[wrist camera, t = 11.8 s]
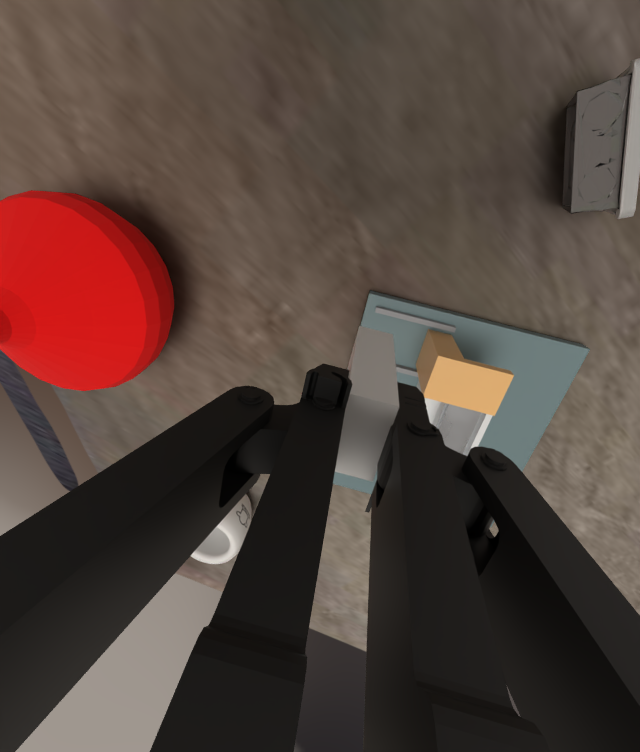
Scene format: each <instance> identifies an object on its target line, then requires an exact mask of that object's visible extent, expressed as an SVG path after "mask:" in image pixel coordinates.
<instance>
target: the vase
mask: <svg viewBox="0 0 640 752" xmlns="http://www.w3.org/2000/svg"><path fill="white" fill-rule="evenodd" d="M173 311H174V296H173V286H172V283H171V280H170V277H169V274H168V271H167V268H166V265H165V263H164V262H163V260H162V258H161V257H160V255H159V253H158V252H157V250H156V248H155V247H154V245H153V244H152V243H151V242H150V241H149V240H148V239H147V238H146V237H145V235H144V234H143V233H142V232H141V231H140V230H139V229H138V228H137V227H135V226H134V225H132V224H131V223H129V222H128V221H126V220H125V219H124V218H122V217H121V216H119V215H118V214H116V213H115V212H113V211H112V210H110V209H109V208H107V207H106V206H105V205H103V204H102V203H99V202H96V201H94V200H91V199H89V198H86V197H83V196H81V195H78V194H73V193H61V192H48V191H32V190H31V191H28V192H24V193H20V194H16V195H12V196H8V197H7V198H5V199H3V200H1V201H0V349H1V350H2V351H3V352H4V353H5V354H6V355H7V356H8V357H9V358H11V359H12V360H13V361H14V362H15V363H16V364H17V365H18V366H19V367H21V368H22V369H24V370H26V371H27V372H29V373H31V374H32V375H34V376H36V377H37V378H39V379H40V380H43V381H46V382H48V383H51V384H53V385H56V386H59V387H61V388H66V389H74V390H81V391H86V390H94V389H102V388H109V387H116V386H118V385H120V384H122V383H124V382H126V381H129V380H131V379H133V378H134V377H136V376H137V375H138V374H140V373H141V372H142V371H143V370H145V369H146V368H147V367H148V366H149V365H150V364H151V363H152V362H153V361H154V360H155V359H156V358H157V357H158V356H159V354H160V352H161V350H162V348H163V346H164V344H165V342H166V340H167V338H168V334H169V331H170V327H171V323H172V317H173Z"/></svg>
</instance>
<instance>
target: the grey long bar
mask: <svg viewBox="0 0 640 752" xmlns="http://www.w3.org/2000/svg"><path fill="white" fill-rule="evenodd" d="M480 415H481V412H477V411H474V410H470V409H466V408H462V407H458V406H455V405H451V404H447V403H445V405H444V407H443V410H442V412H441V415H440V417H439V419H438V422H437V424H436V428H438V429H439V430H440V432H441V434H442V437H443V440H444V444H445V446H447V447H449V448H451V449H452V450H454V451H457V452H459V453H461V454H463V452H464V449H465V447H466V445H467V443H468V441H469V439H470V436H471V434H472V432H473V430H474V428H475V426H476V424H477V421H478V419H479V417H480Z"/></svg>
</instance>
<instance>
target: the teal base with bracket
mask: <svg viewBox="0 0 640 752" xmlns="http://www.w3.org/2000/svg"><path fill="white" fill-rule="evenodd" d="M360 326H362V327H366V328H370V329H374V330H377V331H381V332H385V333H389V334H393V340H394V352H395V363H396V374H397V382H400V383H404V384H407V385H411V386H415V387H417V388H418V389H419V390H420V391H421V387H420V383H419V378H418V373H417V369H416V362H417V359H418V357H419V354H420V351H421V348H422V345H423V342H424V340H425V337H426V334H427V331H428V329H430V330H434V331H438V332H442V333H446V334H450V335H452V336H453V338H454V340H455V342H456V344H457V346H458V348H459V350H460V352H461V353H462V355H463V357H464V359H467V360H471V361H475V362H479V363H483V364H487V365H491V366H494V367H498V368H502V369H506V370H510V371H511V372H512V373H513V374H514V377H513V379H512V381H511V383H510V385H509V387H508V389H507V391H506V394H505V396H504V398H503V400H502V402H501V404H500V406H499V408H498V410H497V412H496V414H495V416H493V415H489V414H485V413H481V415H480V417H479V419H478V421H477V424H476V426H475V428H474V430H473V432H472V434H471V436H470V439H469V441H468V443H467V445H466V447H465V449H464V452H463V455H466V456H467V455H468V453H469V451H470V449H471V448H473V447H486V448H492V449H495V450H496V451H499V452H501V453H502V454H503V455H505V456H506V457H508V458H509V459H511V460H512V461H513V462H514V463H515V464H516V465H517V467H518V468H519V469H520V470H521V472H522V471H523V469H524V467H525V465H526V463H527V462H528V460H529V458H530V456H531V454H532V453H533V451H534V449H535V447H536V446H537V444H538V442H539V440H540V438H541V437H542V435H543V433H544V431H545V429H546V428H547V426H548V424H549V422H550V420H551V419H552V417H553V415H554V413H555V411H556V410H557V408H558V406H559V404H560V402H561V401H562V399H563V397H564V395H565V394H566V392H567V390H568V388H569V386H570V385H571V383H572V381H573V379H574V377H575V376H576V374H577V372H578V370H579V368H580V367H581V365H582V363H583V361H584V359H585V358H586V356H587V354H588V352H589V350H590V349H589V348H587V347H586V346H585V345H583V344H580V343H576V342H572V341H568V340H564V339H560V338H556V337H552V336H548V335H544V334H540V333H536V332H532V331H528V330H524V329H520V328H516V327H513V326H509V325H505V324H501V323H497V322H493V321H489V320H485V319H481V318H477V317H473V316H469V315H465V314H461V313H457V312H453V311H449V310H445V309H441V308H438V307H434V306H430V305H426V304H422V303H418V302H414V301H410V300H406V299H402V298H398V297H394V296H390V295H386V294H382V293H378V292H374V291H370V292H369V296H368V299H367V303H366V306H365V310H364V314H363V317H362V321H361V324H360ZM424 399H425V403H426V409H427V412H428V417H429V421H430V423H431V424H433V425H434V426H435V427H436V424H437V422H438V419H439V417H440V415H441V412H442V410H443V407H444V405H445V403H443V402H439V401H436V400H432V399H428V398H424ZM376 480H377V471H376V474H375V477H374V479H373V482H372V481H368V480H364V479H361V478H357V477H353V476H350V475H346V474H342V473H339V472H335V474H334V480H333V484H336V485H339V486H343V487H347V488H350V489H354V490H358V491H361V492H365V493H369V494H372V491H373V489H374V486H375V483H376ZM493 523H494V520H493V522H492V524H493ZM492 524H491V526H492ZM491 526H490V527H491Z"/></svg>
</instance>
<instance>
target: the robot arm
mask: <svg viewBox="0 0 640 752" xmlns="http://www.w3.org/2000/svg"><path fill="white" fill-rule="evenodd" d="M376 471H377V480H376V483H375V486H374V489H373V491H372V494H371V497H370V500H369V503H368V505H367V508H366V511H365V512H369V511H370V509H371V507H372V513H371V541H370V569H369V598H368V626H367V654H366V682H365V711H364V740H363V752H640V615H639V614H638V613H637V612H636V611H635V609H634V608H633V607H632V606H631V604H630V603H629V602H628V601H627V600H626V598H625V597H624V596H623V595H622V593H621V592H620V591H619V590H618V589H617V587H616V586H615V585H614V584H613V582H612V581H611V580H610V579H609V578H608V576H607V575H606V574H605V573H604V572H603V570H602V569H601V568H600V567H599V565H598V564H597V563H596V562H595V561H594V559H593V558H592V557H591V556H590V554H589V553H588V552H587V551H586V550H585V548H584V547H583V546H582V545H581V543H580V542H579V541H578V540H577V539H576V537H575V536H574V535H573V534H572V532H571V531H570V530H569V529H568V528H567V526H566V525H565V524H564V523H563V522H562V520H561V519H560V518H559V517H558V515H557V514H556V513H555V512H554V511H553V509H552V508H551V507H550V506H549V504H548V503H547V502H546V501H545V500H544V498H543V497H542V496H541V495H540V493H539V492H538V491H537V490H536V489H535V487H534V486H533V485H532V484H531V482H530V481H529V480H528V479H527V478H526V476H525V475H524V474H523V473H522V472H521V470H520V469H519V468H518V467H517V465H516V464H515V463H514V462H513V461H512V460H511V459H509V458H508V457H506V456H505V455H503V454H502V453H501V452H499V451H496V450H495V449H492V448H486V447H473V448H471V449H470V451H469V453H468V455H467V456H466V455H463V454H461V453H459V452H457V451H454V450H452V449H451V448H449V447H447V446H445V444H444V440H443V437H442V434H441V432H440V430H439V429H438V428H436V427H435V426H434V425H433V424H431V423H430V421H429V417H428V412H427V409H426V403H425V399H424V395H423V393H422V392H421V391H420V390H419V389H418V388H417V387H415V386H411V385H407V384H404V383H400V382H397V374H396V363H395V352H394V340H393V334H389V333H385V332H381V331H377V330H374V329H370V328H366V327H362V326H359V328H358V332H357V335H356V339H355V343H354V346H353V350H352V354H351V357H350V361H349V365H348V368H347V370H346V369H342V368H338V367H335V366H331V365H327V364H322V365H320V366H318V367H316V368H315V369H311V370H309V371H308V372H307V375H306V379H305V383H304V388H303V392H302V397H301V400H300V402H299V403H297V404H294V405H274V399H273V397H272V396H271V395H270V394H269V393H268V392H266V391H264V390H263V389H259V388H257V387H253V386H251V387H250V386H241V387H235V388H233V389H230V390H229V391H227V392H225V393H224V394H222V395H221V396H219V397H218V398H216V399H214V400H213V401H211V402H210V403H208V404H207V405H205V406H203V407H202V408H200V409H199V410H197V411H196V412H194V413H192V414H191V415H189V416H188V417H186V418H185V419H183V420H181V421H180V422H178V423H177V424H175V425H174V426H172V427H171V428H169V429H167V430H166V431H164V432H163V433H161V434H160V435H158V436H156V437H155V438H153V439H152V440H150V441H149V442H147V443H145V444H144V445H142V446H141V447H139V448H138V449H136V450H134V451H133V452H131V453H130V454H128V455H127V456H125V457H123V458H122V459H120V460H119V461H117V462H116V463H114V464H113V465H111V466H109V467H108V468H106V469H105V470H103V471H102V472H100V473H98V474H97V475H95V476H94V477H92V478H91V479H89V480H87V481H86V482H84V483H83V484H81V485H80V486H78V487H76V488H75V489H73V490H72V491H70V492H69V493H67V494H66V495H64V496H62V497H61V498H59V499H58V500H56V501H55V502H53V503H52V504H50V505H48V506H47V507H45V508H44V509H42V510H40V511H39V512H37V513H36V514H34V515H33V516H31V517H29V518H28V519H26V520H25V521H23V522H22V523H20V524H18V525H17V526H15V527H14V528H12V529H11V530H9V531H7V532H6V533H4V534H3V535H1V536H0V752H15V751H16V750H17V749H18V748H19V747H20V746H21V744H22V743H23V742H24V741H25V740H26V739H27V738H28V737H29V736H30V734H31V733H32V732H33V731H34V730H35V729H36V728H37V727H38V726H39V724H40V723H41V722H42V721H43V720H44V719H45V718H46V717H47V716H48V714H49V713H50V712H51V711H52V710H53V708H55V707H56V705H57V704H58V703H59V702H60V701H61V700H62V699H63V698H64V697H65V695H66V694H67V693H68V692H69V691H70V690H71V689H72V688H73V686H74V685H75V684H76V683H77V682H78V681H79V680H80V679H81V677H82V676H83V675H84V674H85V673H86V672H87V671H88V670H89V669H90V667H91V666H92V665H93V664H94V663H95V662H96V661H97V659H98V658H99V657H100V656H101V655H102V654H103V653H104V652H105V650H106V649H107V648H108V647H109V646H110V645H111V644H112V643H113V642H114V641H115V639H116V638H117V637H118V636H119V635H120V634H121V633H122V632H123V631H124V629H125V628H126V627H127V626H128V625H129V624H130V623H131V622H132V620H133V619H134V618H135V617H136V616H137V615H138V614H139V613H140V611H141V610H142V609H143V608H144V607H145V606H146V605H147V604H148V603H149V601H150V600H151V599H152V598H153V597H154V596H155V595H156V593H158V591H159V590H160V589H161V588H162V587H163V586H164V585H165V584H166V582H167V581H168V580H169V579H170V578H171V577H172V576H173V575H174V574H175V572H176V571H177V570H178V569H179V568H180V567H181V566H182V565H183V563H184V562H185V561H186V560H187V559H188V558H189V557H190V556H191V555H192V553H193V552H194V551H195V550H196V549H197V548H198V547H199V546H200V544H201V543H202V542H203V541H204V540H205V539H206V538H207V537H208V536H209V534H210V533H211V532H212V531H213V530H214V529H215V528H216V527H217V525H218V524H219V523H220V522H221V521H222V520H223V519H224V518H225V517H226V515H227V514H228V513H229V512H230V511H231V510H232V509H233V508H234V506H235V505H236V504H237V503H238V502H239V501H240V500H241V499H242V498H243V496H244V495H245V494H246V493H247V492H248V491H249V490H250V489H251V487H252V486H253V485H254V484H255V483H256V482H257V480H258V478H259V477H260V474H270V477H269V479H268V482H267V484H266V487H265V489H264V492H263V494H262V496H261V499H260V501H259V504H258V506H257V509H256V511H255V514H254V516H253V519H252V521H251V524H250V526H249V529H248V531H247V534H246V536H245V539H244V541H243V544H242V546H241V549H240V551H239V554H238V556H237V559H236V561H235V564H234V566H233V568H232V571H231V573H230V576H229V578H228V581H227V583H226V586H225V588H224V591H223V593H222V596H221V598H220V601H219V603H218V606H217V608H216V611H215V613H214V615H213V618H212V620H211V622H210V624H209V625H208V626H206V627H204V628H203V630H202V632H201V633H200V635H199V637H198V639H197V641H196V644H195V646H194V648H193V650H192V652H191V655H190V657H189V659H188V662H187V664H186V666H185V669H184V671H183V674H182V676H181V679H180V681H179V683H178V686H177V688H176V690H175V693H174V695H173V698H172V700H171V702H170V705H169V707H168V710H167V712H166V714H165V717H164V719H163V721H162V724H161V726H160V729H159V731H158V733H157V736H156V738H155V741H154V743H153V745H152V748H151V750H150V752H293V751H294V745H295V739H296V732H297V726H298V720H299V713H300V707H301V701H302V694H303V688H304V682H305V674H306V664H307V656H306V655H305V647H306V641H307V635H308V629H309V623H310V617H311V611H312V605H313V599H314V593H315V587H316V581H317V575H318V569H319V563H320V557H321V551H322V545H323V539H324V533H325V528H326V522H327V516H328V510H329V504H330V498H331V492H332V486H333V480H334V474H335V472H339V473H342V474H346V475H350V476H353V477H357V478H361V479H364V480H368V481H372V482H373V479H374V477H375V474H376ZM493 520H494V521H495V523H496V525H497V527H498V529H499V532H498V533H497V535H496V536H495V537H494V536H493V535H492V533H491V532H490V530H489V528H490V526H491V524H492V522H493ZM506 685H507V686H506ZM507 687H508V689H509V691H510V694H511V696H512V698H513V700H514V702H515V704H516V707H517V709H518V711H519V714H520V716H521V717H520V716H518V714H517V713H516V712H515V710H514V709H513V706H512V704H511V701H510V698H509V694H508V690H507Z"/></svg>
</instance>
